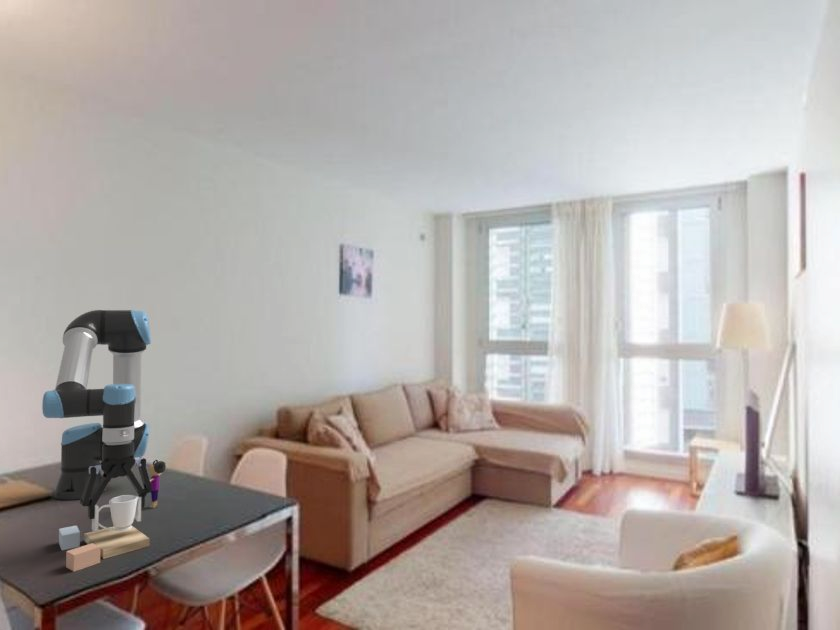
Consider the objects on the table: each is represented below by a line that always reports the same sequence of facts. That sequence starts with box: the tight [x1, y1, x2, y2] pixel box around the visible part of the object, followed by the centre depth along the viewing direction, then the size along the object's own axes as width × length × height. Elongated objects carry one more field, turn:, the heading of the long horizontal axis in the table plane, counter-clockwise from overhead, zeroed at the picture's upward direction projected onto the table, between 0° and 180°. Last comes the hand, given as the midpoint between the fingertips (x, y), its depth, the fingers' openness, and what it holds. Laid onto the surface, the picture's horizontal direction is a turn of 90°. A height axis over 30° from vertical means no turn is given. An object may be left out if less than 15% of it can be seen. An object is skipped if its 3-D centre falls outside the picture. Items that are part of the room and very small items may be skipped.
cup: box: [98, 494, 138, 532], centre depth 145 cm, size 7×10×8 cm
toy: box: [148, 459, 167, 509], centre depth 174 cm, size 10×6×15 cm, turn 5°
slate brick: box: [58, 525, 81, 551], centre depth 144 cm, size 6×4×4 cm, turn 40°
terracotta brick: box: [65, 543, 101, 572], centre depth 133 cm, size 6×4×4 cm, turn 146°
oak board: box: [83, 525, 151, 560], centre depth 145 cm, size 16×11×2 cm
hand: (116, 525), depth 145 cm, fingers closed on cup, 10 cm apart
